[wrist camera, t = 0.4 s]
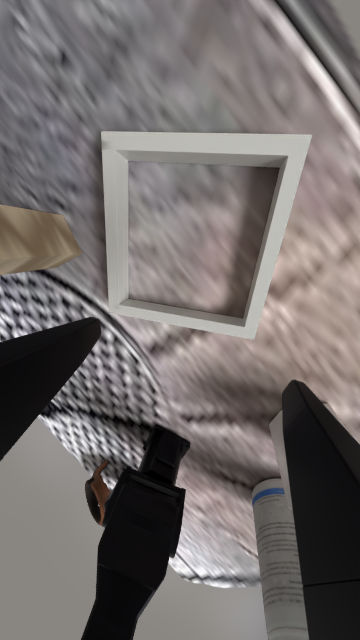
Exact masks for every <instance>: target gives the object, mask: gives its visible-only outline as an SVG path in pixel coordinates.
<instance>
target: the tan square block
mask: <svg viewBox="0 0 360 640" xmlns="http://www.w3.org/2000/svg"><path fill="white" fill-rule="evenodd" d="M81 254H82V252H81V250H80V248H79V246H78V244H77V242H76V240H75V238H74V236H73V234H72V232H71V230H70V229H69V227H68V225H67V223H66V221H65V219H64V217H63V215H58V214H53V213H47V212H41V211H35V210H29V209H23V208H18V207H12V206H6V205H0V275H4V274H11V273H18V272H25V271H33V270H40V269H47V268H54V267H58V266H60V265H62V264H64V263H65V262H67V261H69V260H71V259H73V258H75V257H77V256H79V255H81Z"/></svg>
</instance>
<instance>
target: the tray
mask: <svg viewBox="0 0 360 640" xmlns="http://www.w3.org/2000/svg"><path fill="white" fill-rule="evenodd" d="M311 137H312V135H293V134H231V133H169V132H107V131H101V139H102V161H103V184H104V206H105V229H106V252H107V274H108V297H109V313H113V314H119V315H124V316H129V317H135V318H140V319H145V320H151V321H156V322H161V323H167V324H172V325H177V326H183V327H188V328H193V329H199V330H204V331H209V332H215V333H220V334H225V335H231V336H236V337H241V338H247V339H252V340H254V338H255V335H256V331H257V328H258V324H259V321H260V317H261V314H262V310H263V306H264V303H265V299H266V296H267V292H268V289H269V285H270V282H271V278H272V275H273V271H274V268H275V264H276V261H277V257H278V254H279V250H280V247H281V243H282V240H283V236H284V232H285V229H286V225H287V222H288V218H289V215H290V211H291V208H292V204H293V201H294V197H295V194H296V190H297V187H298V183H299V180H300V176H301V173H302V169H303V166H304V162H305V158H306V155H307V151H308V148H309V144H310V141H311ZM128 161H139V162H162V163H185V164H208V165H232V166H255V167H278V168H280V170H279V174H278V178H277V182H276V186H275V190H274V194H273V199H272V203H271V207H270V211H269V215H268V219H267V223H266V227H265V231H264V235H263V239H262V243H261V247H260V251H259V255H258V259H257V263H256V268H255V272H254V276H253V280H252V284H251V288H250V292H249V296H248V300H247V304H246V308H245V312H244V316H243V318H237V317H231V316H225V315H219V314H214V313H208V312H202V311H196V310H190V309H184V308H178V307H173V306H167V305H161V304H155V303H149V302H143V301H138V300H132V299H129V286H128Z"/></svg>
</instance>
